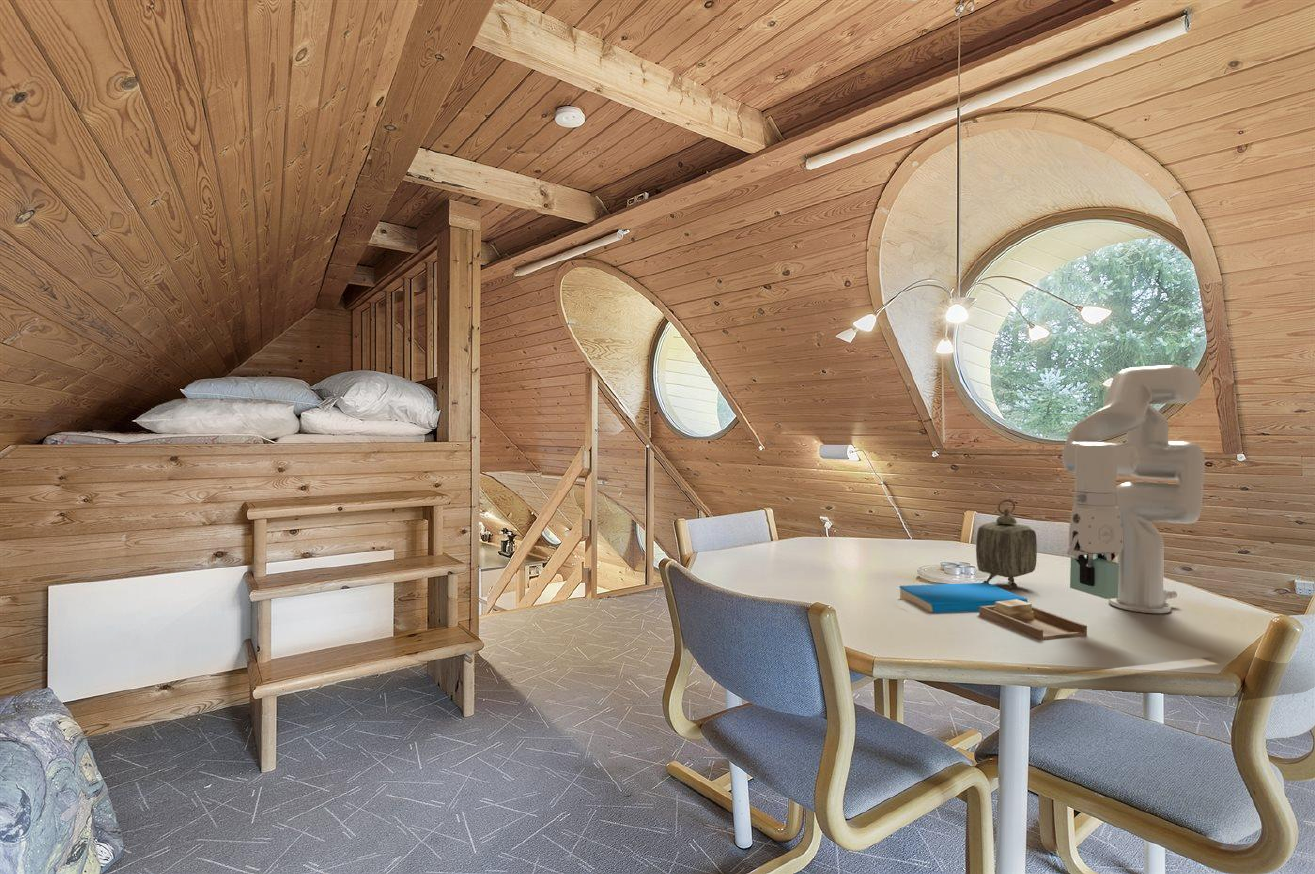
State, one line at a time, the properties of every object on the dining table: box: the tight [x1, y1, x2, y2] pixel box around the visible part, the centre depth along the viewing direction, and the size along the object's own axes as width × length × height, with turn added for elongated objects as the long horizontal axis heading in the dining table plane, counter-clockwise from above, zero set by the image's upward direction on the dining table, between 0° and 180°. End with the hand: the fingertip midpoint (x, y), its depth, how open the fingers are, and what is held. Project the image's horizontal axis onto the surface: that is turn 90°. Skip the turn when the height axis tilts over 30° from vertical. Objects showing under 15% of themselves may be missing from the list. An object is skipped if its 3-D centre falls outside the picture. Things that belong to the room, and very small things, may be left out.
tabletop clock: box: [975, 498, 1038, 589], centre depth 182 cm, size 14×9×25 cm, turn 115°
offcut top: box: [995, 599, 1033, 614], centre depth 150 cm, size 6×4×2 cm, turn 107°
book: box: [899, 582, 1029, 614], centre depth 164 cm, size 17×4×25 cm
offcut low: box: [994, 609, 1034, 621], centre depth 150 cm, size 7×4×2 cm, turn 103°
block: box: [1069, 555, 1119, 600], centre depth 140 cm, size 9×3×8 cm, turn 13°
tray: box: [978, 605, 1088, 641], centre depth 145 cm, size 12×18×3 cm, turn 13°
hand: (1094, 583), depth 140 cm, fingers closed on block, 3 cm apart
